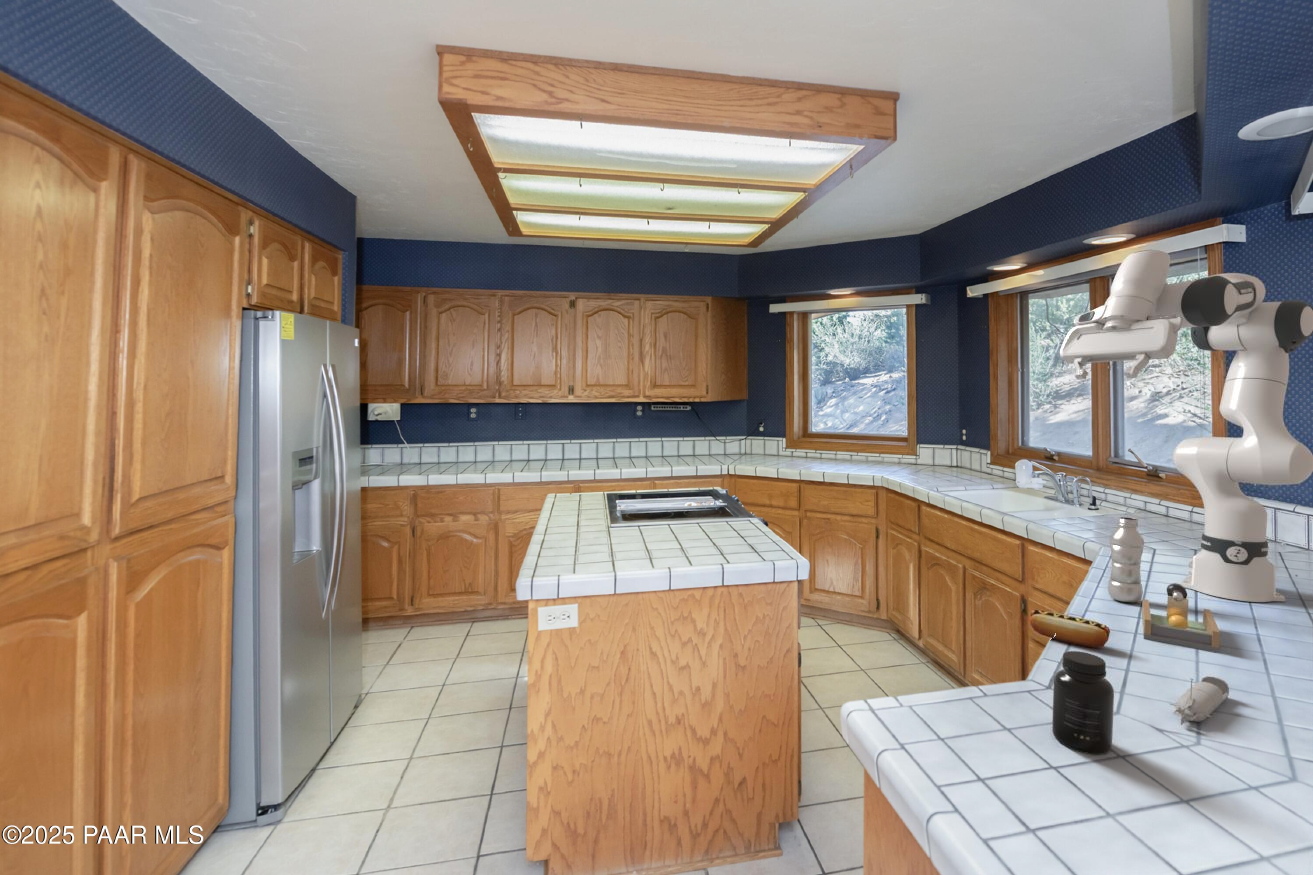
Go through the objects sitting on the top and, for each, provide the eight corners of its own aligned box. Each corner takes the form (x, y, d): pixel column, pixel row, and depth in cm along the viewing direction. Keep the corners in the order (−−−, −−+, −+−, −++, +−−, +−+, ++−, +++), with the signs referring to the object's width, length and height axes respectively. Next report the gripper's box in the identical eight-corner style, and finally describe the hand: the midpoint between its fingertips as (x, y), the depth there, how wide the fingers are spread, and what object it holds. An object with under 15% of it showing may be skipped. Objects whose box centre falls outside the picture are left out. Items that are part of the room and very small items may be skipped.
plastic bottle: (1148, 606, 139) (1153, 521, 138) (1115, 604, 140) (1119, 520, 139) (1132, 597, 145) (1136, 516, 144) (1101, 595, 147) (1105, 515, 146)
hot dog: (1106, 655, 112) (1107, 629, 112) (1025, 635, 122) (1026, 611, 121) (1111, 648, 115) (1112, 622, 115) (1033, 629, 125) (1034, 605, 125)
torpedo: (1197, 689, 99) (1199, 651, 98) (1236, 701, 95) (1238, 661, 95) (1160, 722, 88) (1162, 679, 88) (1202, 737, 85) (1205, 692, 84)
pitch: (1141, 616, 132) (1142, 598, 132) (1208, 628, 126) (1210, 609, 125) (1143, 638, 120) (1144, 619, 119) (1218, 652, 113) (1219, 632, 113)
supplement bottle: (1052, 723, 88) (1055, 643, 87) (1110, 738, 84) (1114, 654, 83) (1050, 745, 82) (1054, 659, 81) (1113, 762, 78) (1117, 672, 77)
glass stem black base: (1165, 613, 130) (1166, 582, 129) (1184, 616, 128) (1186, 584, 127) (1166, 621, 125) (1168, 588, 124) (1187, 625, 123) (1189, 591, 123)
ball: (1167, 626, 124) (1168, 611, 124) (1187, 629, 122) (1187, 615, 122) (1168, 630, 122) (1169, 615, 121) (1188, 633, 120) (1189, 619, 120)
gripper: (1192, 321, 117) (1171, 383, 115) (1082, 332, 136) (1062, 385, 134) (1178, 304, 115) (1155, 367, 113) (1067, 317, 133) (1046, 372, 131)
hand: (1104, 377), depth 124 cm, fingers open, 8 cm apart
